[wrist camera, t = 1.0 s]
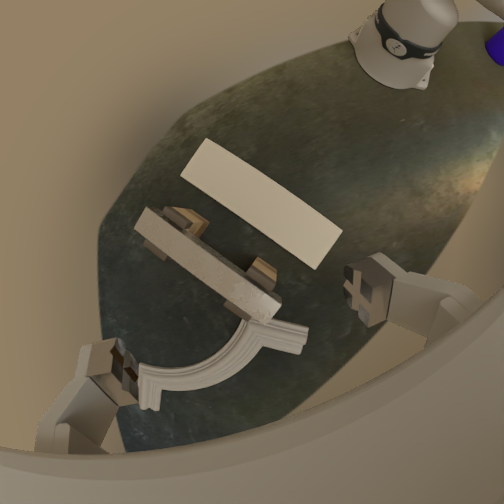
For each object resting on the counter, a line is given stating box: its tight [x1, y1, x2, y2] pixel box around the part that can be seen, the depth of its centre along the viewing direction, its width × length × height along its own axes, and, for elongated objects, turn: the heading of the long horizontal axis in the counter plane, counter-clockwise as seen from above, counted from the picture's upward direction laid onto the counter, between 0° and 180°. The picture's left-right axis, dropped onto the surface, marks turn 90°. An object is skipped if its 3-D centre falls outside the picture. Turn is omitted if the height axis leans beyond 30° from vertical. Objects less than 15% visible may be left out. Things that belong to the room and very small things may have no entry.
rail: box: [134, 207, 282, 326], centre depth 37 cm, size 4×22×4 cm, turn 55°
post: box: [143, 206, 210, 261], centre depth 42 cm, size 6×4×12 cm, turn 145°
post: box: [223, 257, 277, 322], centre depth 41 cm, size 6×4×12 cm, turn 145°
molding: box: [138, 317, 309, 411], centre depth 49 cm, size 42×12×3 cm, turn 121°
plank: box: [180, 138, 342, 270], centre depth 45 cm, size 8×28×1 cm, turn 55°
